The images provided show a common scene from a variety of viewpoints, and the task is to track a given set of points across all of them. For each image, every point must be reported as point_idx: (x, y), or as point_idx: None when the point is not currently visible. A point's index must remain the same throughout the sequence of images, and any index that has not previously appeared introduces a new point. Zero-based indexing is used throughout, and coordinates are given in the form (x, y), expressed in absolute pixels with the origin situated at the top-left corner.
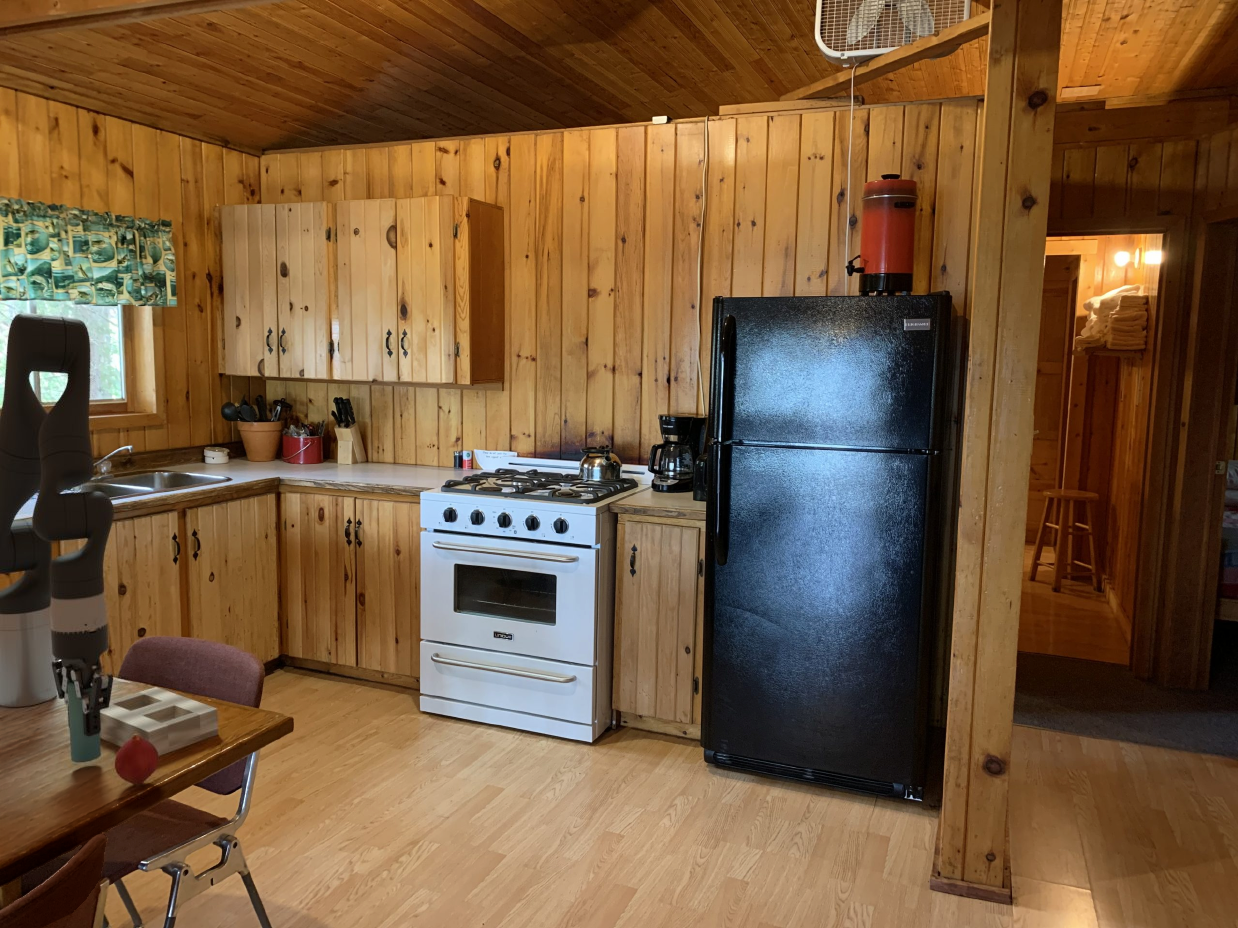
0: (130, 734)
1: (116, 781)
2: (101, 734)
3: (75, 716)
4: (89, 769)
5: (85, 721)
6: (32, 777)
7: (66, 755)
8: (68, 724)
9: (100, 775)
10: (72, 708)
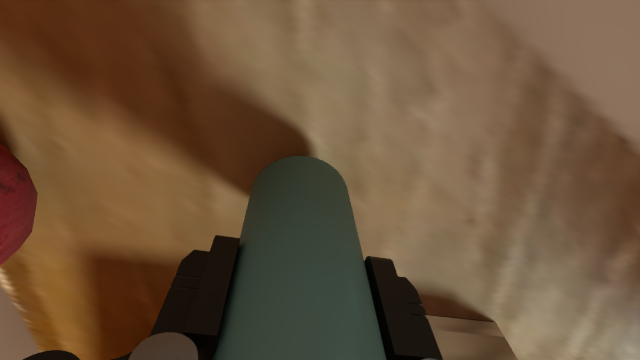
0: None
1: (94, 148)
2: (436, 325)
3: (267, 296)
4: None
5: (199, 289)
6: (405, 44)
7: (439, 210)
8: (394, 268)
9: (192, 157)
10: (289, 340)
